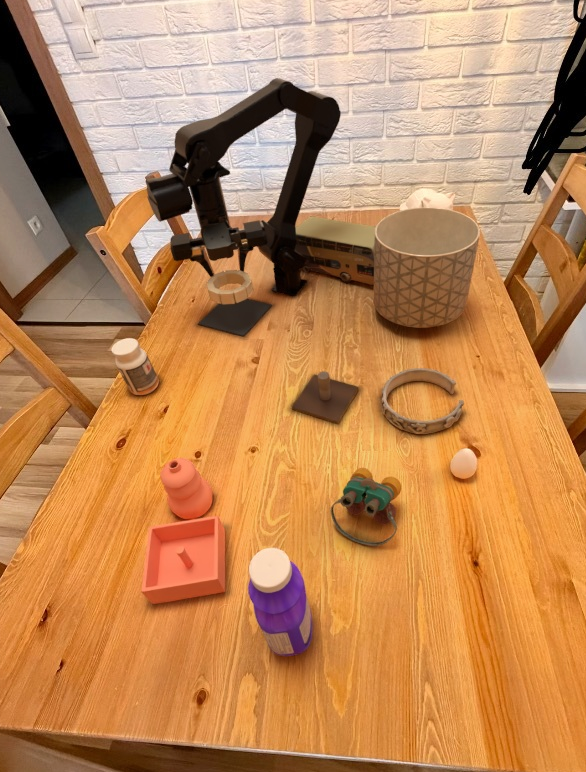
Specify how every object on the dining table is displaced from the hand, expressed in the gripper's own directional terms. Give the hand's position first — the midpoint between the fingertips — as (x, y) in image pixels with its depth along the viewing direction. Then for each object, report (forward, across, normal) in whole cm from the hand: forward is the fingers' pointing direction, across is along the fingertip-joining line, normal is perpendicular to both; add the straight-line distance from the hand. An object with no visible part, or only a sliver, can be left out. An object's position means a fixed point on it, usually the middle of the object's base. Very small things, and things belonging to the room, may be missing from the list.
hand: (228, 278), depth 98 cm
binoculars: (+8, +13, -59) cm, 61 cm away
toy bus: (+8, +27, +8) cm, 29 cm away
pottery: (+8, -12, -55) cm, 57 cm away
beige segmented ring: (+1, 0, -4) cm, 5 cm away
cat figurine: (+8, +48, +10) cm, 50 cm away
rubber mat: (+8, 0, -2) cm, 8 cm away
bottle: (+8, 0, -71) cm, 71 cm away
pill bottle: (+8, -20, -20) cm, 29 cm away
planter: (+8, +38, -14) cm, 41 cm away
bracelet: (+8, +28, -40) cm, 50 cm away
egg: (+8, +29, -55) cm, 63 cm away
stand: (+8, +13, -34) cm, 37 cm away
